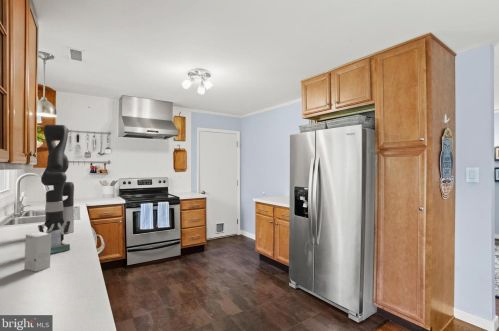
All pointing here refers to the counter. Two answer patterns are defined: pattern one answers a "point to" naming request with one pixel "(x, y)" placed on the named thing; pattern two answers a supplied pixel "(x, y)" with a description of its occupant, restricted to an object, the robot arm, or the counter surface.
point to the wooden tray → (60, 248)
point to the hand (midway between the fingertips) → (54, 242)
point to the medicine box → (55, 238)
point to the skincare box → (37, 251)
